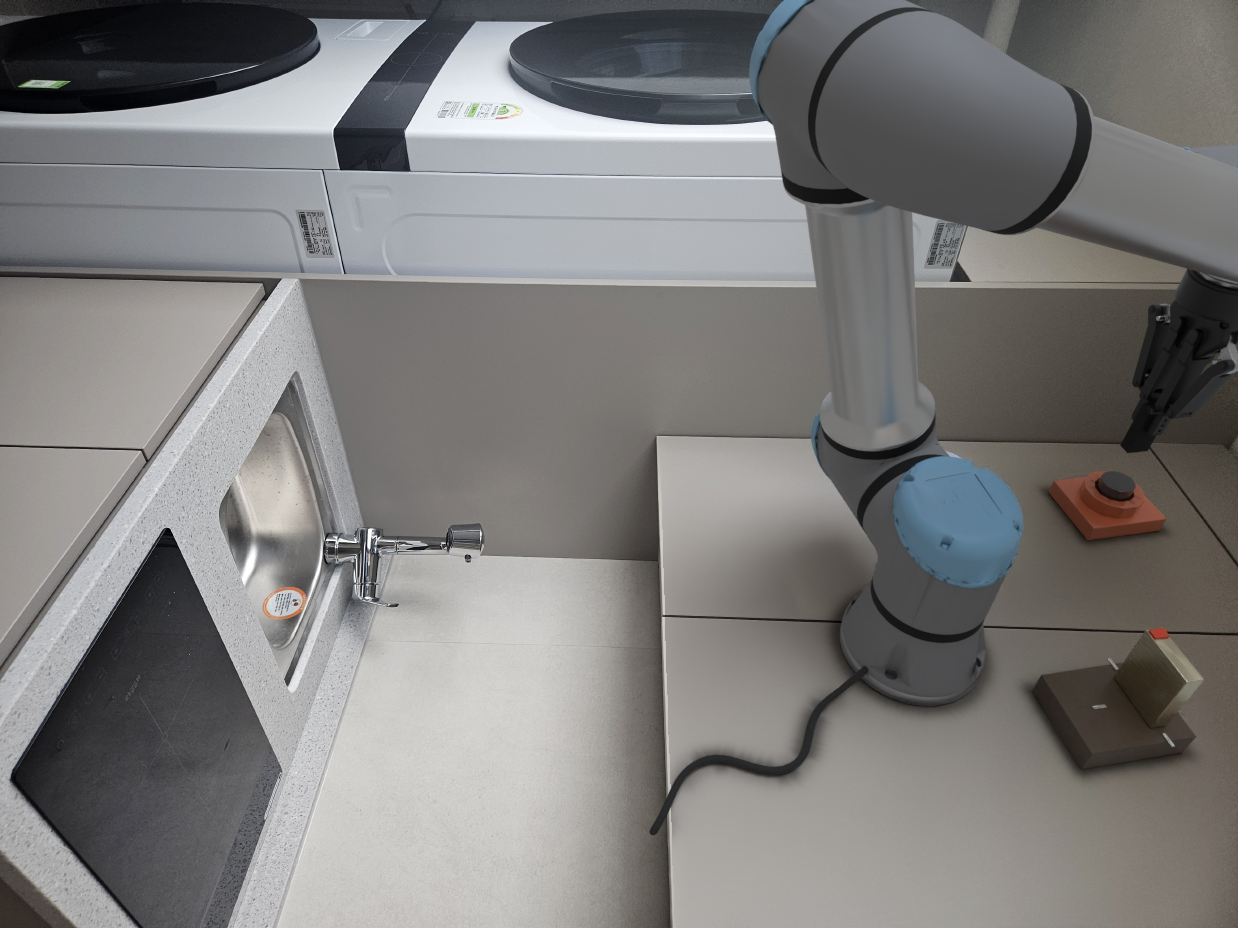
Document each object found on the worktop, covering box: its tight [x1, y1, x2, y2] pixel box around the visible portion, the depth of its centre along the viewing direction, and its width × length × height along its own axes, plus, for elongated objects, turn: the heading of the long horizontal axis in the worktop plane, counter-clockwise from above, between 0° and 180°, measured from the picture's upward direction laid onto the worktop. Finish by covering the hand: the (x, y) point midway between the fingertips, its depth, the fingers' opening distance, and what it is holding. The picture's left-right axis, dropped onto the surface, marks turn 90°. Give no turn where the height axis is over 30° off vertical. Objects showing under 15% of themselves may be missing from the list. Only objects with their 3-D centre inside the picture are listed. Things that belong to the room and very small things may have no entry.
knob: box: [1114, 627, 1205, 728], centre depth 79 cm, size 6×2×8 cm, turn 9°
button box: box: [1048, 470, 1167, 541], centre depth 104 cm, size 10×9×4 cm
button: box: [1096, 470, 1136, 502], centre depth 103 cm, size 4×4×2 cm
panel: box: [1032, 657, 1197, 770], centre depth 82 cm, size 13×10×3 cm
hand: (1133, 448), depth 98 cm, fingers closed
